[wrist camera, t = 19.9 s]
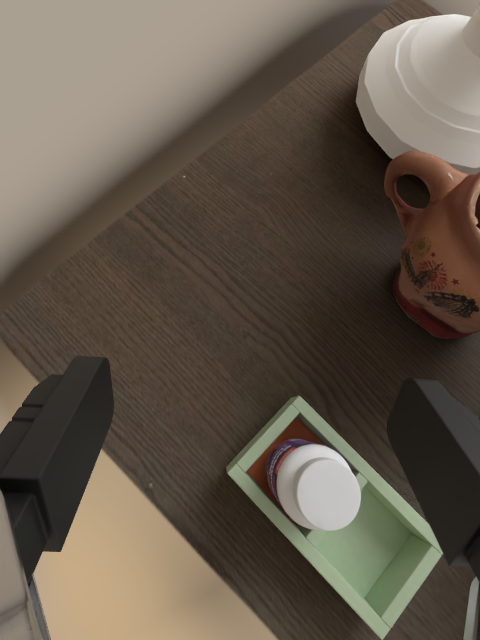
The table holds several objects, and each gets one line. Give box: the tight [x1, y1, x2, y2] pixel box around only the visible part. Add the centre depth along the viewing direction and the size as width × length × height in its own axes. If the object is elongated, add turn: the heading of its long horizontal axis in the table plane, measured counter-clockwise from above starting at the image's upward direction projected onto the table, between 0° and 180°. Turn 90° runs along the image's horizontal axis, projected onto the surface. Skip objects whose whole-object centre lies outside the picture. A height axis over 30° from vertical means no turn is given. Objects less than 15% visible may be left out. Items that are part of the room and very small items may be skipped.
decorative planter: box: [384, 151, 480, 339], centre depth 31 cm, size 20×12×14 cm, turn 50°
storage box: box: [226, 396, 443, 640], centre depth 29 cm, size 8×16×3 cm, turn 45°
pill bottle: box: [265, 439, 361, 531], centre depth 26 cm, size 5×5×10 cm
